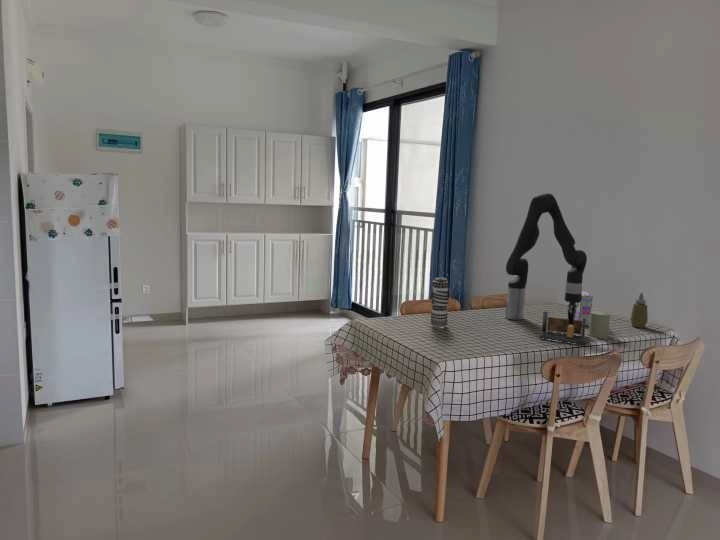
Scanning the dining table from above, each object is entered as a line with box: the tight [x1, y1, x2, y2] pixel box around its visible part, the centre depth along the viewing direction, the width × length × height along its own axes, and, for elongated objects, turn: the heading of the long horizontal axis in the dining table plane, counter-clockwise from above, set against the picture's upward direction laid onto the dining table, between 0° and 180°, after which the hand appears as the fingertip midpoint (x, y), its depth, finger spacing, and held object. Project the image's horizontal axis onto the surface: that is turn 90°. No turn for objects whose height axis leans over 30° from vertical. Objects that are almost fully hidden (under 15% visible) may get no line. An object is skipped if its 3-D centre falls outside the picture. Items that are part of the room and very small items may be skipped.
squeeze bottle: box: [630, 292, 648, 328], centre depth 294 cm, size 8×8×18 cm
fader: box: [567, 324, 574, 338], centre depth 264 cm, size 2×5×5 cm, turn 153°
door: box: [546, 316, 583, 335], centre depth 277 cm, size 16×2×7 cm, turn 63°
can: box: [588, 310, 611, 339], centre depth 275 cm, size 9×9×12 cm
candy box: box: [574, 290, 593, 327], centre depth 300 cm, size 14×6×16 cm, turn 168°
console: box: [539, 330, 588, 347], centre depth 266 cm, size 20×9×2 cm, turn 63°
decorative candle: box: [430, 277, 450, 328], centre depth 286 cm, size 9×9×25 cm
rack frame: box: [541, 310, 586, 337], centre depth 278 cm, size 20×2×10 cm, turn 63°
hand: (570, 326), depth 272 cm, fingers closed
